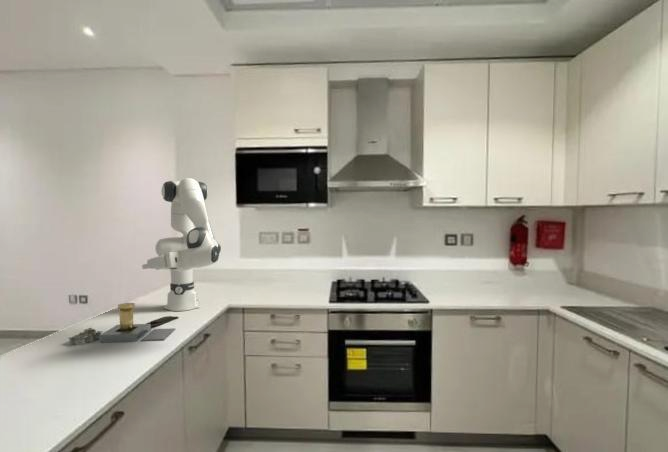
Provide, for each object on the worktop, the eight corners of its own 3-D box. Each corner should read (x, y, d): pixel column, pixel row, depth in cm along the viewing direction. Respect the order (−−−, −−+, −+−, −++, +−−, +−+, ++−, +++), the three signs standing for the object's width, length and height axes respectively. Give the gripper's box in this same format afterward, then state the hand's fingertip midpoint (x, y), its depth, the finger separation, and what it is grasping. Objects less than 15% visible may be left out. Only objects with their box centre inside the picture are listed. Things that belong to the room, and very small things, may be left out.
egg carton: (92, 336, 156) (92, 326, 156) (104, 338, 153) (104, 328, 153) (65, 344, 146) (65, 334, 146) (78, 346, 143) (78, 336, 143)
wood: (167, 317, 185) (167, 311, 185) (180, 318, 183) (179, 312, 183) (132, 331, 164) (132, 324, 164) (146, 332, 162) (146, 325, 162)
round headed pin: (122, 334, 158) (122, 302, 157) (137, 333, 158) (137, 302, 158) (115, 338, 152) (114, 306, 151) (131, 338, 152) (130, 306, 152)
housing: (117, 331, 161) (117, 324, 161) (150, 330, 163) (150, 323, 163) (100, 342, 147) (100, 335, 147) (137, 341, 149) (136, 333, 149)
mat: (154, 330, 163) (154, 329, 163) (175, 329, 164) (175, 328, 164) (141, 341, 149) (140, 339, 149) (164, 340, 150) (164, 338, 150)
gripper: (191, 255, 168) (162, 261, 169) (167, 252, 148) (134, 258, 148) (192, 269, 167) (164, 274, 168) (168, 267, 147) (136, 274, 147)
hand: (149, 267), depth 158 cm, fingers open, 8 cm apart
